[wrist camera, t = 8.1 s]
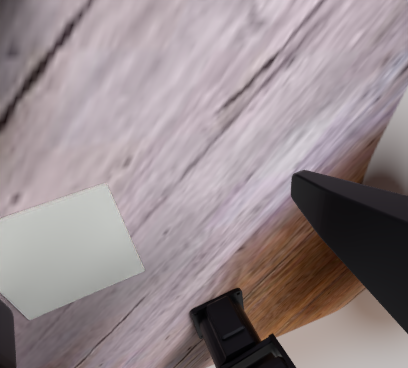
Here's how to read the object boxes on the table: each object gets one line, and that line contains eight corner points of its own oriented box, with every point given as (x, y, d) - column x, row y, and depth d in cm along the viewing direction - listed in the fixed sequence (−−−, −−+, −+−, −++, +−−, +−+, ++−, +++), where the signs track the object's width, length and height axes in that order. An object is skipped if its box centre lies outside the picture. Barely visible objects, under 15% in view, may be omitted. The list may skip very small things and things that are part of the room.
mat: (144, 267, 26) (145, 271, 26) (29, 316, 24) (29, 320, 23) (106, 182, 20) (107, 185, 20) (-52, 235, 18) (-54, 240, 17)
